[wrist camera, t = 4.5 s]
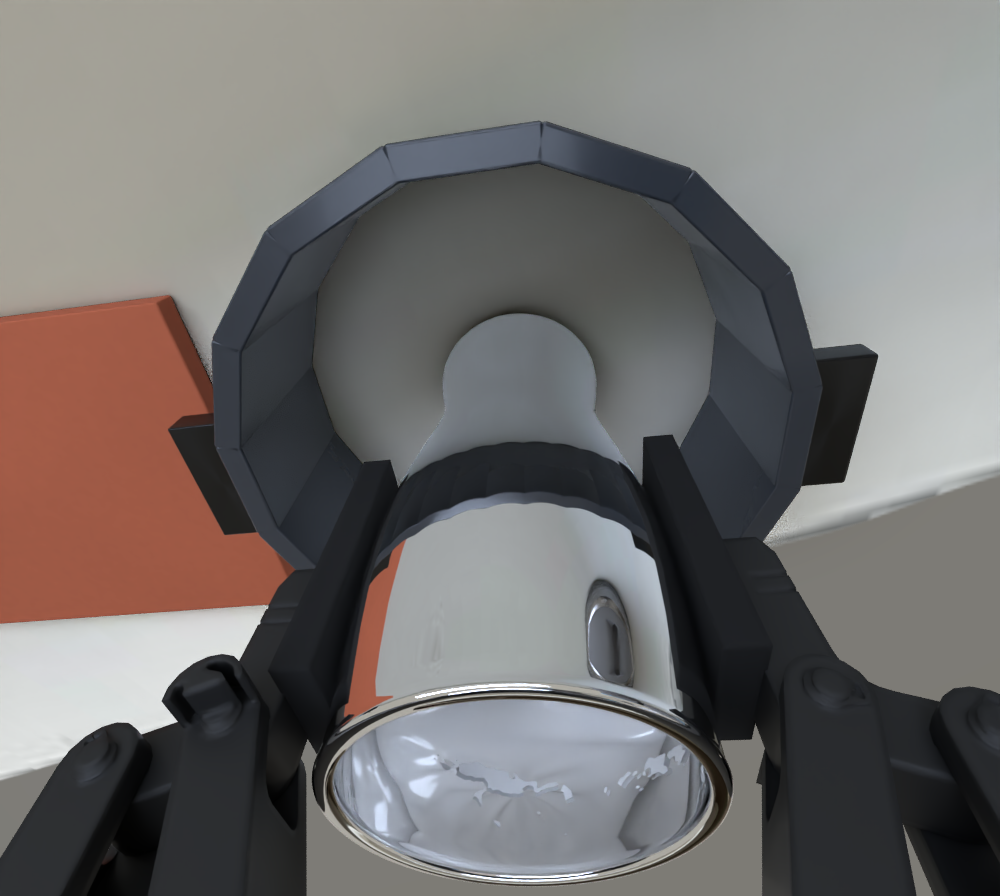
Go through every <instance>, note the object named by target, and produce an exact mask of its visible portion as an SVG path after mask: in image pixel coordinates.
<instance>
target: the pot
mask: <svg viewBox="0 0 1000 896" xmlns="http://www.w3.org/2000/svg"><path fill="white" fill-rule="evenodd" d="M532 164H541V165H545V166H548V167H551V168H554V169H557V170H561V171H564V172H567V173H570V174H573V175H577V176H580V177H583V178H586V179H589V180H593V181H596V182H599V183H602V184H605V185H609V186H612V187H615V188H618V189H621V190H625V191H628V192H631V193H634V194H637V195H640V196H641V197H642V198H643V199H644V200H645V201H646V202H647V203H648V204H649V205H650V206H651V207H652V208H653V209H654V210H655V211H656V212H657V213H658V214H659V215H660V216H662V217H663V218H664V219H665V220H666V221H667V222H668V223H669V224H670V225H671V226H672V227H673V228H674V229H675V230H676V231H677V232H678V233H679V234H680V235H681V236H682V237H684V238H685V239H686V240H687V241H688V243H689V245H690V248H691V251H692V254H693V256H694V259H695V262H696V265H697V267H698V270H699V273H700V276H701V278H702V281H703V284H704V287H705V289H706V292H707V295H708V298H709V300H710V303H711V306H712V309H713V311H714V314H715V317H716V326H715V337H714V348H713V359H712V369H711V380H710V391H709V395H708V397H707V399H706V401H705V402H704V404H703V406H702V408H701V410H700V412H699V414H698V415H697V417H696V419H695V421H694V423H693V425H692V426H691V428H690V430H689V432H688V434H687V436H686V438H685V439H684V441H683V443H682V445H681V447H680V452H681V454H682V456H683V458H684V460H685V462H686V464H687V466H688V468H689V470H690V472H691V475H692V477H693V479H694V481H695V483H696V485H697V487H698V489H699V491H700V493H701V495H702V498H703V500H704V502H705V504H706V506H707V508H708V510H709V512H710V514H711V516H712V518H713V521H714V523H715V525H716V527H717V529H718V531H719V533H720V535H721V537H722V539H729V538H743V537H757V538H758V539H759V540H760V541H762V542H763V541H764V539H765V538H766V536H767V535H768V534H769V532H770V531H771V530H772V528H773V527H774V525H775V524H776V523H777V521H778V520H779V519H780V517H781V516H782V514H783V513H784V512H785V510H786V509H787V507H788V506H789V505H790V503H791V502H792V501H793V499H794V498H795V496H796V495H797V494H798V492H799V491H800V488H801V486H807V485H819V484H831V483H842V482H844V481H845V478H846V474H847V470H848V467H849V463H850V459H851V456H852V452H853V448H854V444H855V441H856V437H857V433H858V430H859V426H860V422H861V419H862V415H863V411H864V408H865V404H866V400H867V396H868V393H869V389H870V385H871V382H872V378H873V374H874V371H875V367H876V363H877V360H878V354H877V353H875V352H874V351H872V350H870V349H869V348H867V347H866V346H864V345H862V344H855V345H846V346H836V347H827V348H818V349H813V347H812V343H811V339H810V336H809V332H808V328H807V325H806V321H805V317H804V314H803V310H802V306H801V303H800V299H799V295H798V292H797V288H796V285H795V281H794V277H793V274H792V272H791V271H790V267H789V266H788V265H787V264H786V263H785V262H784V261H783V260H782V259H781V258H780V257H779V256H778V255H777V254H776V253H775V252H774V251H773V250H772V249H771V248H770V247H769V246H768V245H767V244H766V243H765V242H764V241H763V239H762V238H761V237H760V236H759V235H758V234H757V233H756V232H755V231H754V230H753V229H752V228H751V227H750V226H749V225H748V224H747V223H746V222H745V221H744V220H743V219H742V218H741V217H740V216H739V215H738V214H737V213H736V212H735V211H734V210H733V209H732V208H731V207H730V206H729V205H728V204H727V203H726V202H725V201H724V200H723V199H722V198H721V197H720V195H719V194H718V193H717V192H716V191H715V190H714V189H713V188H712V187H711V186H710V185H709V184H708V183H707V182H706V181H705V180H704V179H703V178H702V177H701V176H700V175H699V174H698V173H697V172H696V171H693V170H691V169H690V168H689V167H686V166H683V165H680V164H677V163H673V162H670V161H667V160H664V159H661V158H658V157H655V156H652V155H649V154H646V153H642V152H639V151H636V150H633V149H630V148H627V147H624V146H621V145H618V144H615V143H611V142H608V141H605V140H602V139H599V138H596V137H593V136H590V135H587V134H584V133H581V132H577V131H574V130H571V129H568V128H565V127H562V126H559V125H556V124H553V123H550V122H541V121H533V122H526V123H520V124H513V125H507V126H500V127H494V128H487V129H480V130H474V131H467V132H461V133H454V134H448V135H441V136H434V137H428V138H422V139H415V140H409V141H402V142H396V143H390V144H386V145H385V146H381V147H379V148H378V149H376V150H375V151H374V152H372V153H371V154H369V155H368V156H367V157H365V158H364V159H362V160H361V161H360V162H358V163H357V164H355V165H354V166H353V167H351V168H350V169H349V170H347V171H346V172H344V173H343V174H342V175H340V176H339V177H337V178H336V179H335V180H333V181H332V182H330V183H329V184H328V185H326V186H325V187H323V188H322V189H321V190H319V191H318V192H316V193H315V194H314V195H312V196H311V197H309V198H308V199H307V200H305V201H304V202H303V203H301V204H300V205H298V206H297V207H296V208H294V209H293V210H291V211H290V212H289V213H287V214H286V215H284V216H283V217H282V218H280V219H279V220H277V221H276V222H275V223H273V224H272V225H270V226H269V227H268V229H267V230H266V231H265V232H264V234H263V236H262V238H261V240H260V242H259V244H258V246H257V248H256V250H255V252H254V254H253V256H252V258H251V260H250V262H249V264H248V266H247V269H246V271H245V273H244V275H243V277H242V279H241V281H240V283H239V285H238V287H237V289H236V291H235V293H234V295H233V297H232V299H231V301H230V303H229V305H228V307H227V309H226V311H225V313H224V315H223V318H222V320H221V322H220V324H219V326H218V328H217V330H216V332H215V334H214V336H213V340H212V375H213V409H214V413H206V414H197V415H188V416H182V417H181V418H180V419H179V420H178V421H176V422H175V423H174V424H173V425H172V426H171V427H170V428H168V431H169V433H170V435H171V437H172V439H173V441H174V443H175V444H176V446H177V448H178V450H179V452H180V454H181V456H182V457H183V459H184V461H185V463H186V465H187V467H188V469H189V470H190V472H191V474H192V476H193V478H194V480H195V482H196V483H197V485H198V487H199V489H200V491H201V493H202V495H203V496H204V498H205V500H206V502H207V504H208V506H209V508H210V509H211V511H212V513H213V515H214V517H215V519H216V521H217V522H218V524H219V526H220V528H221V530H222V532H223V534H224V535H234V534H246V533H259V536H260V537H261V538H262V539H263V540H264V541H265V542H267V543H268V544H269V545H270V546H271V547H272V548H273V549H274V550H275V551H276V552H277V553H278V554H279V555H280V556H281V557H282V558H283V559H285V560H286V561H287V562H288V563H289V564H290V565H291V566H292V567H293V568H294V569H295V570H303V569H315V567H316V565H317V563H318V561H319V559H320V556H321V554H322V552H323V550H324V548H325V546H326V543H327V541H328V539H329V537H330V535H331V533H332V531H333V528H334V526H335V524H336V522H337V520H338V518H339V515H340V513H341V511H342V509H343V507H344V505H345V503H346V500H347V498H348V496H349V494H350V492H351V490H352V487H353V485H354V483H355V481H356V479H357V477H358V474H359V472H360V470H361V468H362V466H363V465H362V464H361V462H360V461H359V460H358V459H357V458H356V456H355V455H354V454H353V453H352V452H351V451H350V449H349V448H348V447H347V446H346V445H345V444H344V442H343V441H342V440H341V439H340V438H339V436H338V435H337V434H336V433H335V432H334V429H333V426H332V423H331V420H330V417H329V414H328V411H327V409H326V406H325V403H324V400H323V397H322V394H321V391H320V388H319V385H318V382H317V379H316V377H315V374H314V371H313V368H312V356H313V344H314V331H315V319H316V307H317V294H318V288H319V286H320V285H321V283H322V281H323V279H324V278H325V276H326V274H327V272H328V271H329V269H330V267H331V265H332V264H333V262H334V260H335V258H336V257H337V255H338V253H339V252H340V250H341V248H342V246H343V245H344V243H345V241H346V239H347V238H348V236H349V234H350V232H351V231H352V229H353V227H354V225H355V224H356V222H357V220H358V219H359V217H360V216H361V215H363V214H364V213H366V212H367V211H369V210H370V209H372V208H373V207H374V206H376V205H377V204H379V203H380V202H382V201H383V200H385V199H386V198H388V197H389V196H391V195H392V194H394V193H395V192H397V191H398V190H399V189H401V188H402V187H404V186H405V185H407V184H408V183H410V182H415V181H422V180H429V179H436V178H443V177H450V176H456V175H463V174H470V173H477V172H484V171H491V170H498V169H505V168H512V167H519V166H526V165H532ZM641 487H642V486H641Z"/></svg>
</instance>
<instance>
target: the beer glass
mask: <svg viewBox="0 0 1000 896" xmlns="http://www.w3.org/2000/svg"><path fill="white" fill-rule="evenodd" d="M442 388H443V398H444V404H445V411H444V415H443V417H442V419H441V420H440V422H439V424H438V425H437V427H436V428H435V430H434V431H433V433H432V434H431V436H430V437H429V439H428V440H427V442H426V443H425V445H424V446H423V448H422V449H421V451H420V452H419V454H418V455H417V457H416V459H415V460H414V462H413V463H412V465H411V466H410V468H409V470H408V471H407V473H406V475H405V477H404V478H403V480H402V482H401V484H400V486H399V488H398V490H397V491H396V493H395V495H394V497H393V499H392V501H391V502H390V504H389V506H388V508H387V510H386V513H385V515H384V518H383V520H382V523H381V525H380V528H379V531H378V533H377V536H376V538H375V541H374V544H373V546H372V549H371V551H370V554H369V557H368V559H367V563H366V566H365V569H364V573H363V576H362V580H361V583H360V586H359V590H358V593H357V597H356V600H355V604H354V607H353V611H352V614H351V619H350V623H349V627H348V631H347V635H346V639H345V644H344V648H343V652H342V656H341V660H340V665H339V669H338V674H337V679H336V683H335V688H334V693H333V697H332V702H331V707H330V711H329V715H328V719H327V723H326V728H325V732H324V736H323V740H322V743H321V747H320V750H319V752H318V754H317V757H316V759H315V762H314V766H313V771H312V786H313V792H314V795H315V798H316V801H317V803H318V805H319V807H320V809H321V811H322V812H323V814H324V815H325V816H326V818H327V819H328V820H329V821H330V822H331V823H332V824H333V825H334V826H335V827H336V828H337V829H338V830H339V831H340V832H341V833H343V834H344V835H345V836H346V837H348V838H349V839H350V840H352V841H353V842H355V843H356V844H358V845H359V846H361V847H363V848H364V849H366V850H368V851H370V852H372V853H374V854H376V855H378V856H380V857H382V858H384V859H387V860H389V861H391V862H394V863H396V864H399V865H402V866H405V867H408V868H411V869H414V870H417V871H420V872H424V873H428V874H432V875H436V876H440V877H444V878H449V879H455V880H460V881H466V882H473V883H480V884H490V885H501V886H522V887H523V886H524V887H525V886H526V887H542V886H543V887H544V886H565V885H576V884H585V883H592V882H599V881H605V880H610V879H615V878H620V877H624V876H628V875H632V874H635V873H639V872H642V871H646V870H649V869H652V868H654V867H657V866H660V865H662V864H665V863H667V862H669V861H672V860H674V859H676V858H678V857H680V856H682V855H684V854H685V853H687V852H689V851H690V850H692V849H694V848H695V847H697V846H698V845H700V844H701V843H702V842H703V841H705V840H706V839H707V838H708V837H710V836H711V835H712V834H713V833H714V832H715V830H716V829H718V827H719V826H720V825H721V824H722V822H723V821H724V819H725V817H726V816H727V814H728V811H729V808H730V806H731V803H732V799H733V790H734V788H733V778H732V774H731V770H730V768H729V765H728V763H727V761H726V759H725V756H724V752H723V748H722V745H721V742H720V737H719V733H718V729H717V725H716V721H715V716H714V712H713V708H712V703H711V699H710V694H709V690H708V685H707V681H706V676H705V672H704V667H703V663H702V659H701V655H700V651H699V647H698V643H697V639H696V635H695V631H694V627H693V623H692V618H691V615H690V611H689V608H688V604H687V601H686V598H685V595H684V591H683V588H682V585H681V581H680V578H679V575H678V571H677V568H676V565H675V562H674V559H673V556H672V553H671V551H670V548H669V546H668V543H667V541H666V538H665V536H664V533H663V531H662V528H661V526H660V523H659V521H658V518H657V516H656V513H655V511H654V509H653V507H652V505H651V503H650V502H649V500H648V498H647V496H646V494H645V492H644V491H643V489H642V487H641V485H640V483H639V482H638V480H637V478H636V476H635V474H634V473H633V471H632V469H631V468H630V466H629V465H628V463H627V462H626V460H625V458H624V457H623V455H622V454H621V452H620V451H619V449H618V448H617V446H616V445H615V443H614V442H613V440H612V439H611V437H610V436H609V435H608V433H607V432H606V430H605V429H604V427H603V426H602V424H601V423H600V421H599V419H598V418H597V416H596V414H595V412H594V411H595V401H596V391H597V381H596V372H595V368H594V364H593V361H592V358H591V356H590V354H589V352H588V350H587V349H586V347H585V346H584V344H583V343H582V342H581V341H580V340H579V339H578V338H577V337H576V336H575V335H574V334H573V333H572V332H571V331H570V330H569V329H567V328H566V327H564V326H563V325H561V324H560V323H558V322H556V321H554V320H551V319H549V318H546V317H543V316H539V315H534V314H526V313H514V314H506V315H501V316H497V317H494V318H491V319H488V320H486V321H484V322H482V323H480V324H478V325H477V326H475V327H474V328H472V329H471V330H470V331H468V332H467V333H466V334H465V335H464V336H463V337H462V338H461V339H460V340H459V341H458V342H457V344H456V345H455V346H454V348H453V349H452V351H451V353H450V355H449V357H448V359H447V362H446V365H445V368H444V373H443V381H442Z"/></svg>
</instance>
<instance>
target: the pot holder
mask: <svg viewBox="0 0 1000 896" xmlns="http://www.w3.org/2000/svg"><path fill="white" fill-rule="evenodd" d="M206 413H214V409H213V387H212V384H211V382H210V380H209V378H208V376H207V374H206V371H205V369H204V367H203V365H202V363H201V361H200V358H199V356H198V354H197V352H196V350H195V348H194V345H193V343H192V341H191V339H190V337H189V335H188V333H187V330H186V328H185V326H184V324H183V322H182V320H181V317H180V315H179V313H178V311H177V309H176V307H175V304H174V302H173V300H172V298H171V296H160V297H153V298H145V299H137V300H130V301H122V302H114V303H107V304H99V305H91V306H84V307H76V308H68V309H61V310H53V311H45V312H37V313H30V314H22V315H14V316H7V317H0V623H14V622H29V621H43V620H57V619H71V618H85V617H99V616H113V615H127V614H141V613H155V612H169V611H183V610H197V609H211V608H225V607H240V606H254V605H268V604H269V603H270V601H271V600H272V598H273V596H274V594H275V592H276V590H277V588H278V587H279V586H280V585H281V584H282V583H283V581H284V580H285V579H286V578H287V577H288V576H289V575H290V574H291V573H292V572H293V571H294V570H295V569H294V568H293V567H292V566H291V565H290V564H289V563H288V562H287V561H286V560H285V559H283V558H282V557H281V556H280V555H279V554H278V553H277V552H276V551H275V550H274V549H273V548H272V547H271V546H270V545H269V544H268V543H267V542H265V541H264V540H263V539H262V538H261V537H260V536H259V533H246V534H234V535H224V534H223V532H222V530H221V528H220V526H219V524H218V522H217V521H216V519H215V517H214V515H213V513H212V511H211V509H210V508H209V506H208V504H207V502H206V500H205V498H204V496H203V495H202V493H201V491H200V489H199V487H198V485H197V483H196V482H195V480H194V478H193V476H192V474H191V472H190V470H189V469H188V467H187V465H186V463H185V461H184V459H183V457H182V456H181V454H180V452H179V450H178V448H177V446H176V444H175V443H174V441H173V439H172V437H171V435H170V433H169V431H168V428H170V427H171V426H172V425H173V424H174V423H175V422H176V421H178V420H179V419H180V418H181V417H182V416H188V415H197V414H206Z"/></svg>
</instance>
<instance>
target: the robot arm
mask: <svg viewBox="0 0 1000 896" xmlns="http://www.w3.org/2000/svg"><path fill="white" fill-rule="evenodd" d="M642 489H643V491H644V492H645V494H646V496H647V498H648V500H649V502H650V503H651V505H652V507H653V509H654V511H655V513H656V516H657V518H658V521H659V523H660V526H661V528H662V531H663V533H664V536H665V538H666V541H667V543H668V546H669V548H670V551H671V553H672V556H673V559H674V562H675V565H676V568H677V571H678V575H679V578H680V581H681V585H682V588H683V591H684V595H685V598H686V601H687V604H688V608H689V611H690V615H691V618H692V623H693V627H694V631H695V635H696V639H697V643H698V647H699V651H700V655H701V659H702V663H703V667H704V672H705V676H706V681H707V685H708V690H709V694H710V699H711V703H712V708H713V712H714V716H715V721H716V725H717V729H718V733H719V737H720V740H750V739H752V735H753V731H754V727H755V723H756V726H757V728H758V731H759V734H760V736H761V739H762V741H763V744H764V747H765V750H764V754H763V758H762V762H761V766H760V770H759V774H758V778H757V782H756V783H759V784H761V785H762V896H916V890H915V886H914V880H913V875H912V870H911V865H910V860H909V854H908V849H907V844H906V839H905V834H904V829H903V825H904V827H905V829H906V832H907V834H908V836H909V839H910V841H911V843H912V846H913V848H914V850H915V853H916V855H917V857H918V860H919V862H920V864H921V866H922V869H923V871H924V873H925V876H926V878H927V880H928V883H929V885H930V887H931V890H932V892H933V894H934V896H1000V694H998V693H996V692H993V691H991V690H986V689H980V688H975V687H962V688H954V689H952V690H951V691H949V692H948V693H947V694H945V695H944V696H943V697H942V699H941V701H940V702H939V701H934V700H930V699H925V698H921V697H917V696H912V695H908V694H903V693H900V692H895V691H892V690H888V689H885V688H882V687H879V686H877V685H874V684H872V683H870V682H868V681H867V680H866V679H865V677H864V676H863V675H862V674H861V673H860V672H859V671H857V670H856V669H854V668H853V667H851V666H850V665H848V664H847V663H845V662H843V661H841V660H839V658H838V657H837V656H836V654H835V653H834V652H833V650H832V649H831V647H830V645H829V644H828V642H827V640H826V638H825V637H824V635H823V634H822V632H821V630H820V628H819V626H818V625H817V623H816V622H815V620H814V618H813V616H812V614H811V613H810V611H809V609H808V608H807V606H806V604H805V602H804V601H803V599H802V597H801V596H800V594H799V592H797V591H796V587H795V586H794V584H793V582H792V580H791V579H790V577H789V576H787V573H786V570H785V569H784V567H783V565H782V563H781V561H780V560H779V558H778V556H777V555H776V553H775V552H774V551H773V550H771V549H770V548H769V547H768V546H767V545H765V544H764V543H763V542H762V541H760V540H759V539H758V538H757V537H743V538H729V539H722V537H721V535H720V533H719V531H718V529H717V527H716V525H715V523H714V521H713V518H712V516H711V514H710V512H709V510H708V508H707V506H706V504H705V502H704V500H703V498H702V495H701V493H700V491H699V489H698V487H697V485H696V483H695V481H694V479H693V477H692V475H691V472H690V470H689V468H688V466H687V464H686V462H685V460H684V458H683V456H682V454H681V452H680V449H679V447H678V445H677V443H676V441H675V439H674V437H673V435H661V436H650V437H643V481H642ZM397 490H398V485H397V481H396V478H395V475H394V471H393V468H392V464H391V461H390V460H383V461H372V462H364V464H363V466H362V468H361V470H360V472H359V474H358V477H357V479H356V481H355V483H354V485H353V487H352V490H351V492H350V494H349V496H348V498H347V500H346V503H345V505H344V507H343V509H342V511H341V513H340V515H339V518H338V520H337V522H336V524H335V526H334V528H333V531H332V533H331V535H330V537H329V539H328V541H327V543H326V546H325V548H324V550H323V552H322V554H321V556H320V559H319V561H318V563H317V565H316V567H315V569H303V570H294V571H293V572H292V573H291V574H290V575H289V576H288V577H287V578H286V579H285V580H284V581H283V583H282V584H281V585H280V586H279V587H278V588H277V590H276V592H275V594H274V596H273V598H272V600H271V601H270V603H269V605H268V606H269V608H268V609H266V611H265V613H264V615H263V617H262V619H261V624H260V625H258V626H257V628H256V630H255V632H254V634H253V636H252V638H251V640H250V642H249V643H248V645H247V647H246V649H245V651H244V653H243V655H242V657H241V659H240V661H238V660H237V659H236V658H235V657H234V656H230V655H225V654H220V655H215V656H210V657H207V658H205V659H202V660H200V661H198V662H196V663H194V664H192V665H191V666H190V667H188V668H187V669H186V670H184V671H183V672H182V673H181V674H179V675H178V676H177V678H176V679H175V680H174V681H173V682H172V683H171V685H170V686H169V687H168V689H167V691H166V693H165V695H164V697H163V699H162V702H163V704H164V705H165V706H166V707H167V709H168V710H169V711H170V712H171V714H172V715H173V716H174V717H175V719H176V720H177V721H178V722H177V723H174V724H171V725H168V726H165V727H162V728H159V729H156V730H154V731H151V732H148V733H145V734H142V735H141V734H140V733H139V731H138V730H137V729H136V728H134V727H133V726H132V725H131V724H129V723H114V724H110V725H107V726H104V727H101V728H100V729H98V730H96V731H94V732H93V733H91V734H89V735H88V736H86V737H85V738H83V739H82V740H81V741H80V742H79V743H78V744H76V745H75V746H74V747H73V748H72V749H71V750H70V751H69V752H68V753H67V755H66V756H65V757H64V758H63V760H62V761H61V762H60V764H59V765H58V766H57V768H56V770H55V771H54V773H53V774H52V776H51V778H50V779H49V781H48V782H47V784H46V786H45V787H44V789H43V790H42V792H41V794H40V795H39V797H38V799H37V800H36V802H35V803H34V805H33V806H32V808H31V810H30V811H29V813H28V814H27V816H26V818H25V819H24V821H23V823H22V824H21V826H20V827H19V829H18V831H17V832H16V834H15V835H14V837H13V839H12V840H11V842H10V843H9V845H8V847H7V848H6V850H5V852H4V853H3V855H2V856H1V858H0V896H306V771H305V767H304V763H303V762H302V760H301V756H302V753H303V750H304V747H305V745H306V742H307V739H308V740H309V742H310V743H311V745H312V747H313V748H314V750H315V752H316V754H318V752H319V750H320V747H321V743H322V740H323V736H324V732H325V728H326V723H327V719H328V715H329V711H330V707H331V702H332V697H333V693H334V688H335V683H336V679H337V674H338V669H339V665H340V660H341V656H342V652H343V648H344V644H345V639H346V635H347V631H348V627H349V623H350V619H351V614H352V611H353V607H354V604H355V600H356V597H357V593H358V590H359V586H360V583H361V580H362V576H363V573H364V569H365V566H366V563H367V559H368V557H369V554H370V551H371V549H372V546H373V544H374V541H375V538H376V536H377V533H378V531H379V528H380V525H381V523H382V520H383V518H384V515H385V513H386V510H387V508H388V506H389V504H390V502H391V501H392V499H393V497H394V495H395V493H396V491H397Z"/></svg>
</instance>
